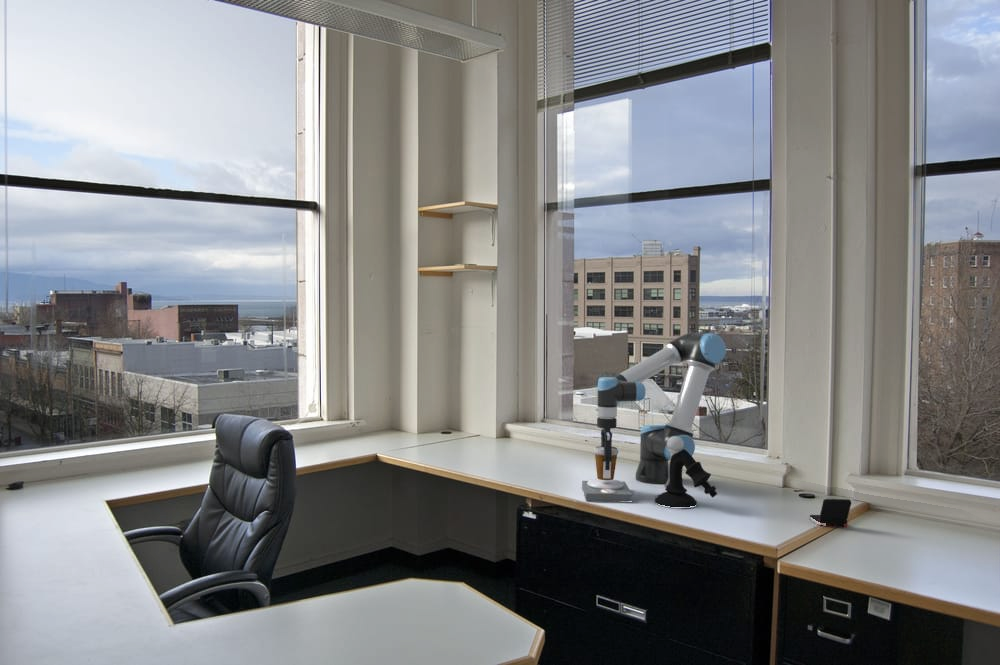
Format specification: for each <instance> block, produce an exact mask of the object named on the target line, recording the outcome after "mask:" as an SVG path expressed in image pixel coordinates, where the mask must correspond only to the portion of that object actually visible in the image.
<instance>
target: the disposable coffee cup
mask: <svg viewBox="0 0 1000 665" xmlns="http://www.w3.org/2000/svg"><path fill="white" fill-rule="evenodd" d="M593 453H594V458H595V469H596V477H597V478H596V479H600V480H615V471H616V465H617V457H618V453H619V449H618V447H616V446H612V461H611V478H603V466H604V461H602V460H604V447H602V446H601V445H598V446H595V447H594V450H593ZM607 458H609V457H607Z"/></svg>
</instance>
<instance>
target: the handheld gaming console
mask: <svg viewBox="0 0 1000 665" xmlns="http://www.w3.org/2000/svg"><path fill="white" fill-rule="evenodd" d="M851 506H852V500H851V499H849V498H848V499H847V498H845V499H843V498H842V499H841V498H825V499H823V501H822V505H821V510H820V512H819V513H820V514H809V518H810V517H812V518H813V519H815V520H816V521H818V522H820V523H826V526H825V527H830V528H831V527H834V528H835V527H837V528H841V527H843V528H844V527H847V526H848V518H849V514H850V510H851Z"/></svg>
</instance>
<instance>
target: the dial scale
mask: <svg viewBox="0 0 1000 665" xmlns="http://www.w3.org/2000/svg"><path fill="white" fill-rule="evenodd" d="M581 489H582V493H583V492H584V493H583V496H584V499H585V501H586V502H592V501H632V502H633V493H632V491H631V489H630V488H629V487H628V484H627V483H626V481H621V480H618V479H613V480H600V479H598V478H593V479H589V480H581Z"/></svg>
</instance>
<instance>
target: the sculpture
mask: <svg viewBox="0 0 1000 665" xmlns="http://www.w3.org/2000/svg"><path fill="white" fill-rule="evenodd" d="M667 446H668V448H669V449H670V450H669V451H670V459H671V460H669V461H668V463H669V467H668V468H669V469H668V470H669V471H668V475H669V476H668V477H669V479H668V480H667V482H666V483H664V485H663V487H664V488H665V489H664V490H665V491H663V492H661V493H660V494H658V495H657V497H655V498H654V503H655V502H656V503H658V504H660V505H665V506H670V507H690V506H695V505H696V504H697V505H698V501H697V500H696V499H695V498H694V496H692V495H691V494H689V493H687V492H688V490H687V489H686V488H685V487H684V484H683V468H684V467H685V469H686V470H685V474H686V476H688V477H689V478H691V480H692V483H693V487H694V488H699V487H703V489H704V490H703V492H704V494H706V495H708V494H709V495H710V497H711V498H712V499H713V498H715V497H716V496H717V495H719V494H718V492H717V487H716V486H715V485H713V486H712V485H711V484H710V483H709V481H708V480H709V479H710V477H711V475H712V473H709V472H707V471H706V470H705V469H704V468H703V466H702V464H701V462H700V461H696V460H695V459H694V457H693V455H692V456H691V455H690V454H689V453H688V452H687V451H686V450H685V449H684V448H683V446H684V442H683V440H682V438H680V437H678V436H672V437H670V438H669V439H668V441H667ZM656 503H655V504H656ZM658 504H657V505H658ZM660 505H659V506H660Z"/></svg>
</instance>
